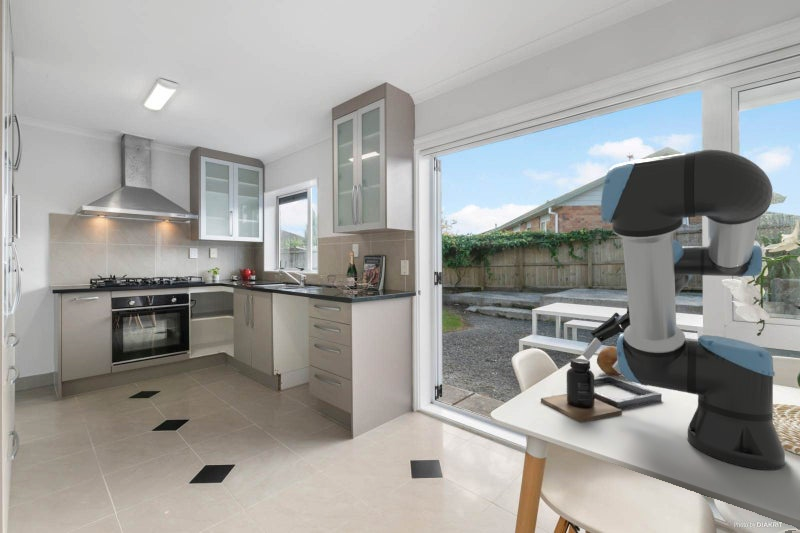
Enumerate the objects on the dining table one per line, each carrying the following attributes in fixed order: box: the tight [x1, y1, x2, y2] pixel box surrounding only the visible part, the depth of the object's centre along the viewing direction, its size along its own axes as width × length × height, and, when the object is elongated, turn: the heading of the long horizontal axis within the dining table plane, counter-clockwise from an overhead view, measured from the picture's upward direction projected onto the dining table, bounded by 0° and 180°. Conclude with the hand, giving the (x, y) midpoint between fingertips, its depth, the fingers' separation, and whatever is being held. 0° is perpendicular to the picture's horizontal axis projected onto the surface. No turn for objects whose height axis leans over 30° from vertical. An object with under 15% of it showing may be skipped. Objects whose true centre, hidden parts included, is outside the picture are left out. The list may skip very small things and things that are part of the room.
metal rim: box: [594, 375, 663, 410], centre depth 108 cm, size 17×17×2 cm
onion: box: [596, 345, 623, 377], centre depth 126 cm, size 10×10×10 cm
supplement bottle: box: [566, 358, 595, 409], centre depth 98 cm, size 7×7×12 cm
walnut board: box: [540, 393, 623, 423], centre depth 98 cm, size 14×14×1 cm
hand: (599, 363), depth 100 cm, fingers open, 11 cm apart
